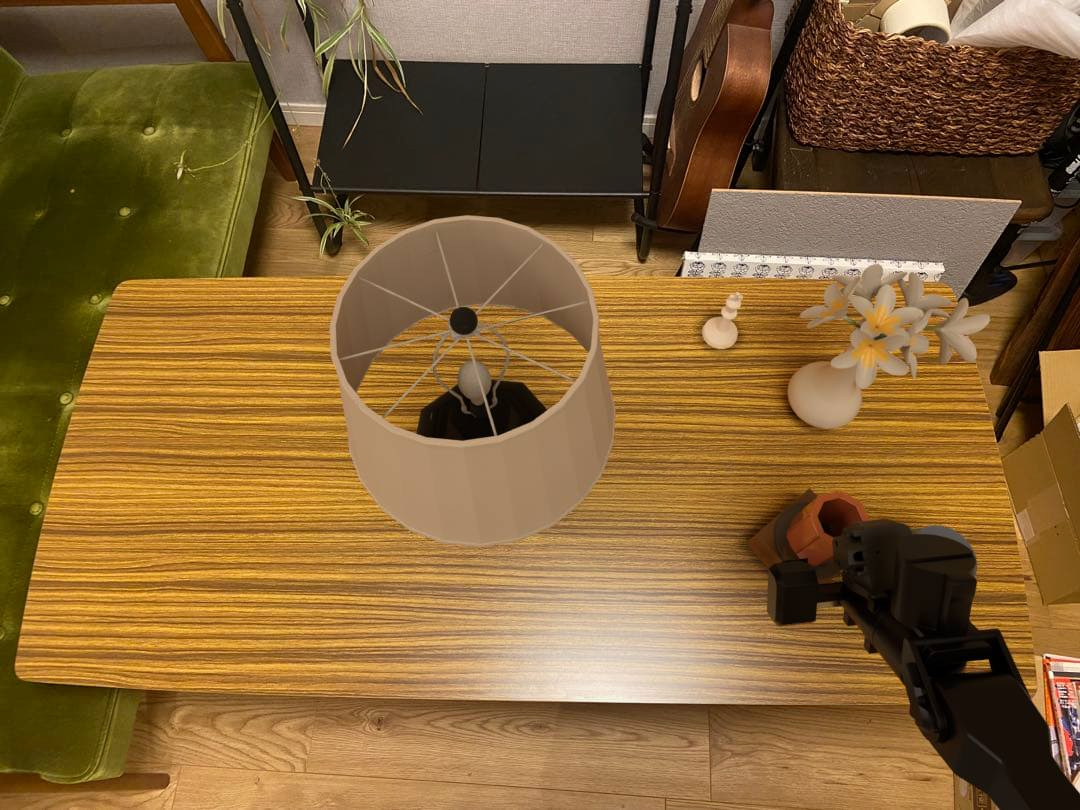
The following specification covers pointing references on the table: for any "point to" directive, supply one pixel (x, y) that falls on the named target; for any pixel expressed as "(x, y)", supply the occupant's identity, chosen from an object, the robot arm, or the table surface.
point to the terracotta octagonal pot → (809, 532)
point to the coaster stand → (774, 536)
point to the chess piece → (723, 325)
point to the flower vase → (875, 342)
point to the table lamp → (473, 384)
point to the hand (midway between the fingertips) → (825, 543)
